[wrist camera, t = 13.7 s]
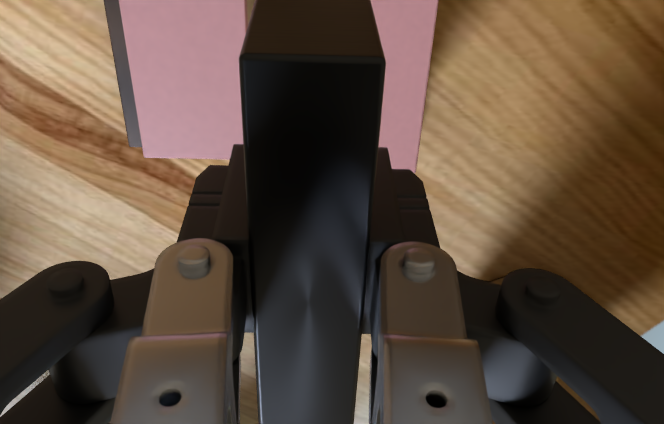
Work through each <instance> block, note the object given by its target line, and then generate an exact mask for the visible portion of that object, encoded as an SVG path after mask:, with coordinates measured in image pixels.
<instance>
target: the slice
mask: <svg viewBox="0 0 664 424" xmlns="http://www.w3.org/2000/svg"><path fill="white" fill-rule="evenodd" d="M438 1H439V0H371V4H372V8H373V12H374V16H375V20H376V24H377V28H378V32H379V36H380V40H381V44H382V48H383V52H384V56H385V60H386V69H385V80H384V91H383V103H382V114H381V125H380V136H379V147H387V148H388V152H389V157H390V162H391V167H392V169H410V170H411V171H412V172H413V173H415V172H416V167H417V160H418V152H419V145H420V137H421V129H422V122H423V114H424V107H425V99H426V92H427V84H428V77H429V69H430V61H431V54H432V46H433V39H434V31H435V24H436V16H437V9H438Z"/></svg>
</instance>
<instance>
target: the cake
mask: <svg viewBox="0 0 664 424" xmlns="http://www.w3.org/2000/svg"><path fill="white" fill-rule="evenodd" d="M254 2H255V0H119V5H120V11H121V17H122V24H123V30H124V36H125V42H126V48H127V55H128V61H129V67H130V73H131V80H132V86H133V92H134V98H135V104H136V111H137V117H138V123H139V129H140V135H141V142H142V148H143V154H144V157H145V158H189V159H230V157H231V153H232V149H233V145H234V144H243V129H242V111H241V93H240V75H239V56H240V52H241V49H242V45H243V41H244V38H245V34H246V31H247V27H248V24H249V20H250V16H251V13H252V9H253V6H254Z"/></svg>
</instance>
